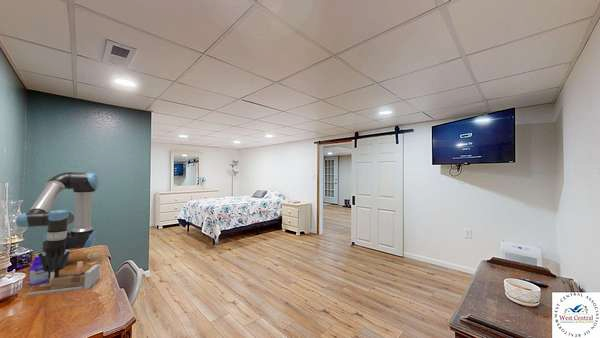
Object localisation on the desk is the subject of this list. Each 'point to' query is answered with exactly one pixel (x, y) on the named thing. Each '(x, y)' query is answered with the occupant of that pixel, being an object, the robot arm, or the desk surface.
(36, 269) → the bottle
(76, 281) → the block
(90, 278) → the rail
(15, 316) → the desk surface
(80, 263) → the dowel
